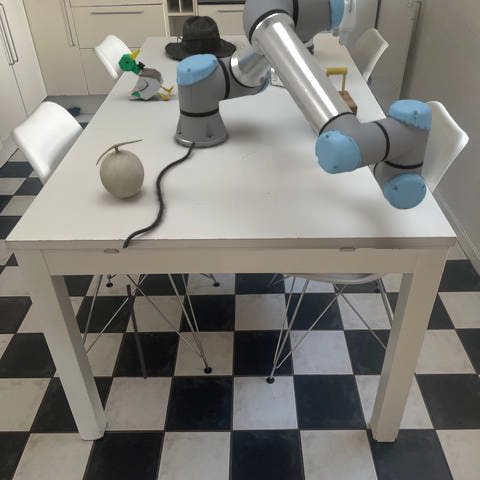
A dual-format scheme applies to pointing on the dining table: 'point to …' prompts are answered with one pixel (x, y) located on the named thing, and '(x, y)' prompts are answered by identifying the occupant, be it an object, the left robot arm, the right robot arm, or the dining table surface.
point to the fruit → (121, 171)
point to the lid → (344, 94)
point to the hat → (199, 40)
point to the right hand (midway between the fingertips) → (338, 40)
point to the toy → (143, 77)
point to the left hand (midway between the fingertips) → (361, 122)
